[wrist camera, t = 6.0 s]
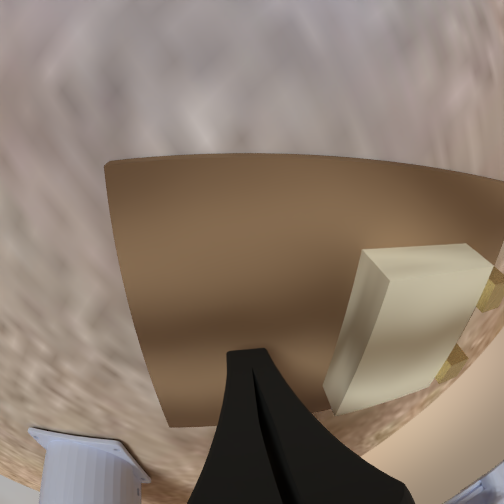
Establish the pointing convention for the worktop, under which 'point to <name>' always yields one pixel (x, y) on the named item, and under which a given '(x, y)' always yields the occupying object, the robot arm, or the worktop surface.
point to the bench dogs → (489, 300)
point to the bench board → (269, 257)
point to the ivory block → (402, 321)
